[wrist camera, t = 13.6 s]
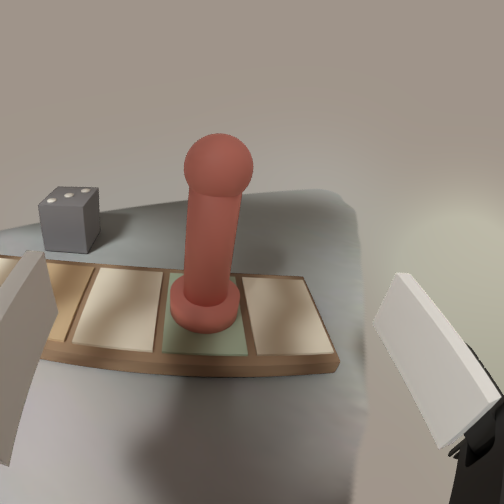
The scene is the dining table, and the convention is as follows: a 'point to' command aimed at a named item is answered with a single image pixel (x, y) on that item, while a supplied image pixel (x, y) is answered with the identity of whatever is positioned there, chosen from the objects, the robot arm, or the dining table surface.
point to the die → (70, 219)
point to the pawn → (211, 234)
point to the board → (173, 335)
